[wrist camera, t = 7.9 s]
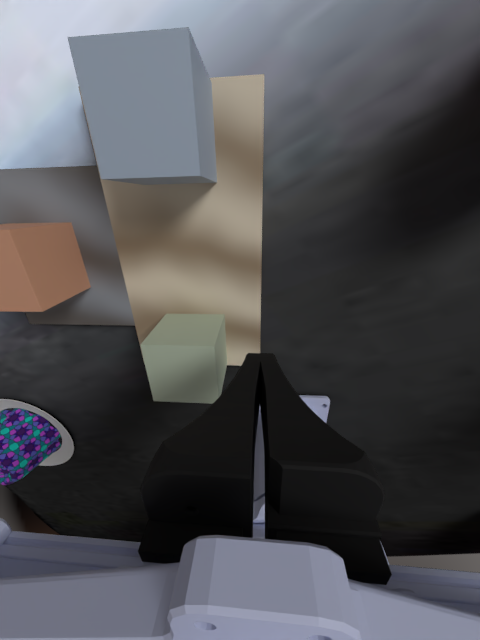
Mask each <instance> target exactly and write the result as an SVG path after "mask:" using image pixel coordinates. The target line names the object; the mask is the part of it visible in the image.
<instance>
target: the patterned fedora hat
mask: <svg viewBox="0 0 480 640" xmlns="http://www.w3.org/2000/svg"><path fill="white" fill-rule="evenodd" d="M7 408H18V409H14V410H13V411H8V410H4V409H7ZM20 408H21V409H20ZM24 409H26V410H29V411H32V412H34V413H37V414H39V415H34V414H31V413H29V412H28V411H26V410H24ZM2 410H3V411H2ZM0 411H1V412H0V484H2V485H9V484H12V483H14V482H16V481H18V480H20V479H22V478H23V477H24V476H26V475H27V474H28V473H29V472H30V471H32V470H33V469H34V468H35V467H36V466H38V465H42V466H54V465H59V464H62V463H64V462H66V461H68V460H69V459H70V458H71V457H72V454H73V452H74V445H73V441H72V438H71V436H70V435H69V433H68V431H67V430H66V429H65V428H64V427H63V425H62V424H61V423H59V422H58V421H57V420H56V419H55V418H53V417H52V416H51V415H49V414H48V413H46V412H44V411H43V410H41V409H39V408H37V407H34V406H32V405H30V404H27V403H24V402H20V401H16V400H10V399H0ZM40 415H41V416H40ZM45 418H46V419H47V420H48V421H50V422H51V423H52V424H53V425H54V426H55V427H56V428H57V429H55V428H53V427H51V426H50V424H49V422H48V421H47V420H46V419H45ZM57 430H58V431H59V432H58V431H57ZM60 435H61V437H62V445H61V443H60V442H59V441H58V439H59V438H60ZM60 445H61V448H60ZM58 448H60V449H59V450H57V449H58ZM56 450H57V451H56ZM55 451H56V452H55ZM53 452H54V453H53Z"/></svg>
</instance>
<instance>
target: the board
mask: <svg viewBox="0 0 480 640" xmlns="http://www.w3.org/2000/svg"><path fill="white" fill-rule="evenodd" d="M210 80H211V82H212V99H213V117H214V135H215V152H216V170H217V183H187V184H155V185H142V184H134V183H126V182H118V181H111V180H103V179H101V177H100V172H99V168H98V164H97V166H77V167H51V168H25V169H0V224H9V223H61V222H71V223H72V226H73V229H74V233H75V236H76V239H77V243H78V246H79V249H80V253H81V256H82V259H83V262H84V266H85V269H86V272H87V276H88V279H89V282H90V286H91V287H90V288H88V289H86V290H84V291H82V292H80V293H79V294H77V295H75V296H73V297H71V298H69V299H67V300H65V301H63V302H61V303H59V304H57V305H55V306H53V307H51V308H49V309H47V310H45V311H43V312H25V314H26V316H27V319H28V321H29V323H30V324H64V325H129V326H135V327H136V331H137V335H138V339H139V343H140V344H141V343H142V342H143V341H144V340H145V338H146V337H147V336H148V335H149V334H150V332H151V331H152V330H153V329H154V328H155V326H156V325H157V324H158V323H159V322H160V321H161V319H162V318H163V317H164V316H165V315H166V314H225V331H226V349H227V365H239V366H242V364H243V362H244V360H245V357H246V355H247V354H248V353H260V323H261V257H262V192H263V127H264V74H262V75H247V76H232V77H217V78H210ZM79 91H80V88H79ZM80 95H81V92H80ZM81 99H82V96H81ZM82 103H83V100H82ZM83 108H84V105H83ZM84 112H85V109H84ZM85 116H86V113H85ZM86 120H87V117H86ZM87 125H88V122H87ZM88 129H89V126H88ZM89 133H90V130H89ZM90 137H91V134H90ZM91 141H92V138H91ZM92 146H93V143H92ZM93 150H94V147H93ZM94 154H95V151H94ZM95 158H96V155H95ZM96 162H97V160H96ZM140 348H141V346H140ZM141 352H142V350H141ZM142 356H143V354H142ZM143 360H144V358H143ZM144 363H145V362H144Z"/></svg>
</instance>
